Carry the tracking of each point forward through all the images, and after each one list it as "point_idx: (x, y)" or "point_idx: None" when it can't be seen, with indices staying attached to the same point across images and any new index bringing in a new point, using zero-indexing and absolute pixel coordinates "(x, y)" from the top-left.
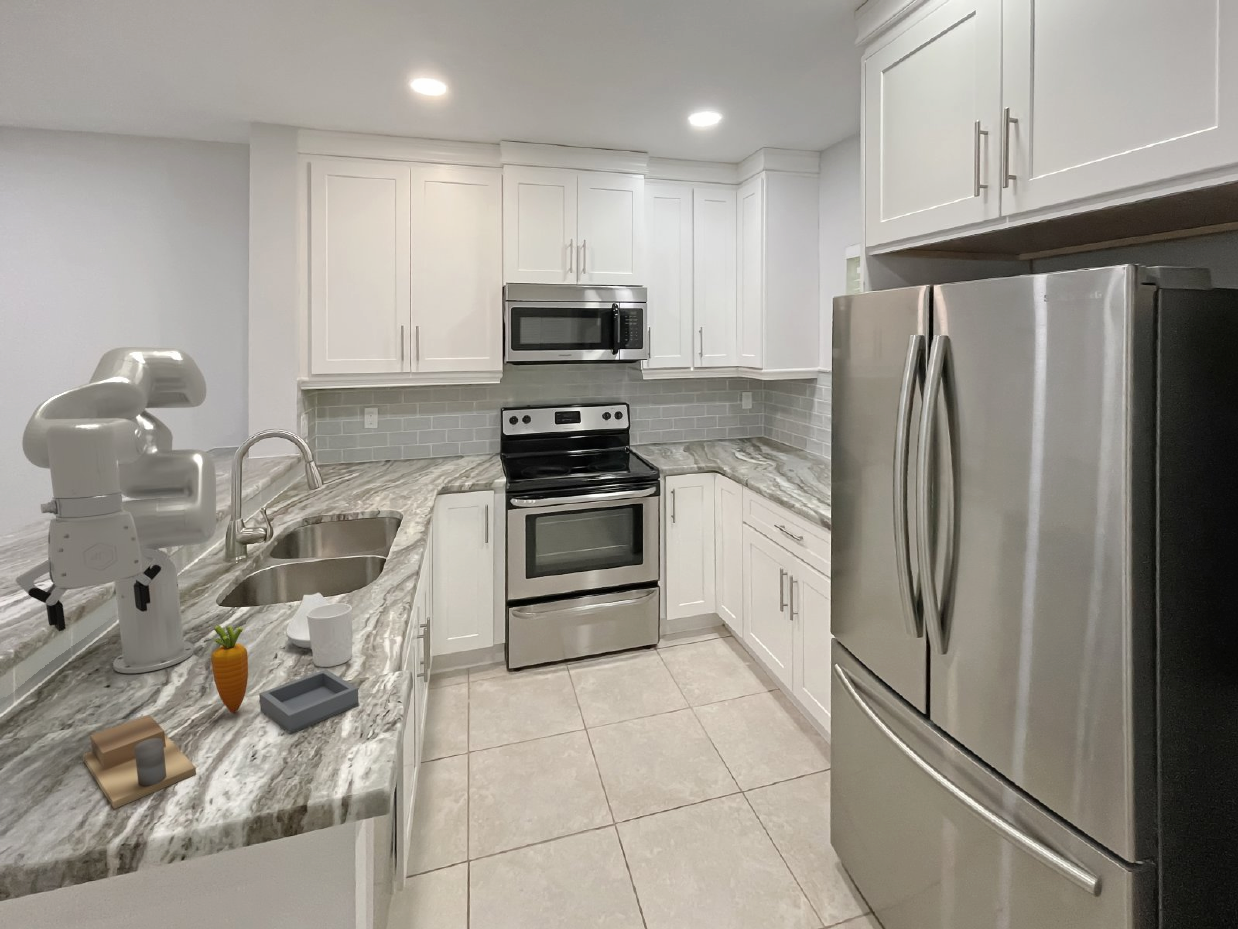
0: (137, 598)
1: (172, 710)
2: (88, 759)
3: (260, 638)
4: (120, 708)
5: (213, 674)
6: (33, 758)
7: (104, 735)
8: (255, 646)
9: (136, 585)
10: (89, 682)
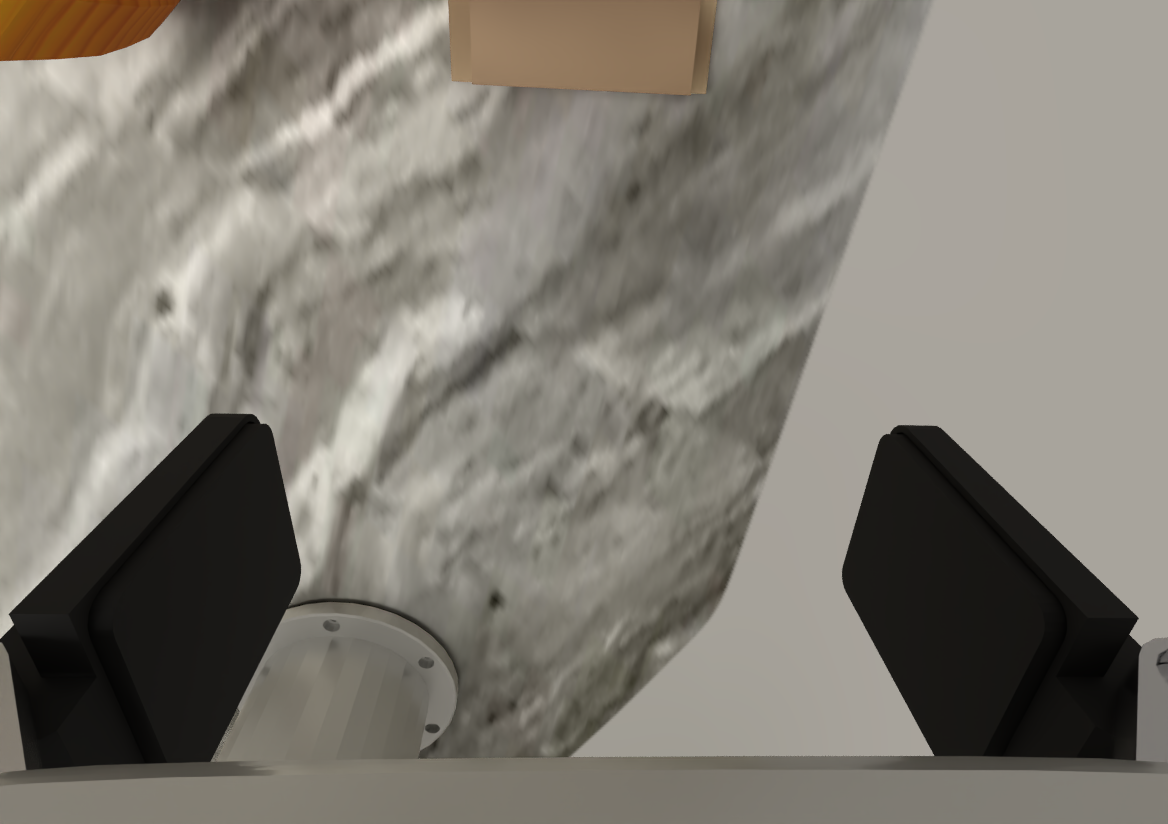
0: (235, 585)
1: (377, 255)
2: (707, 25)
3: None
4: (507, 420)
5: (115, 1)
6: (782, 272)
7: (656, 31)
8: (35, 559)
9: (146, 748)
10: (527, 657)
